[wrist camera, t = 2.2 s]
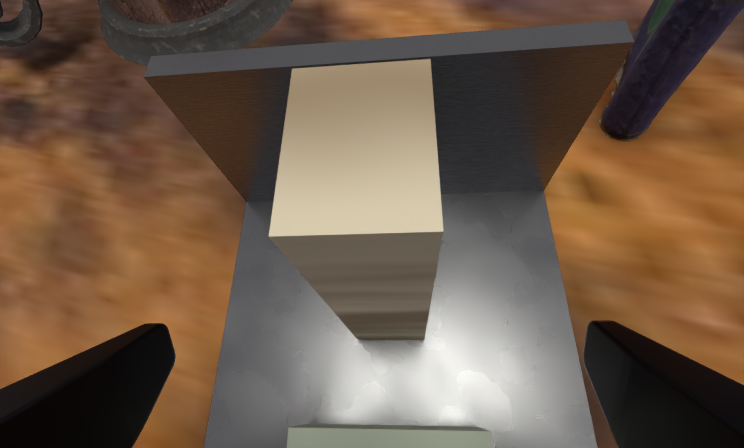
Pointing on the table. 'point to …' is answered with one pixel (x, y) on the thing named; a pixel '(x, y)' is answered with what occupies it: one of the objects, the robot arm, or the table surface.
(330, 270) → the birch block
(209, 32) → the tankard
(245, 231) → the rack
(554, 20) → the table surface
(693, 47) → the flask
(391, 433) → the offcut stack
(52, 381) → the robot arm
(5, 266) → the table surface
